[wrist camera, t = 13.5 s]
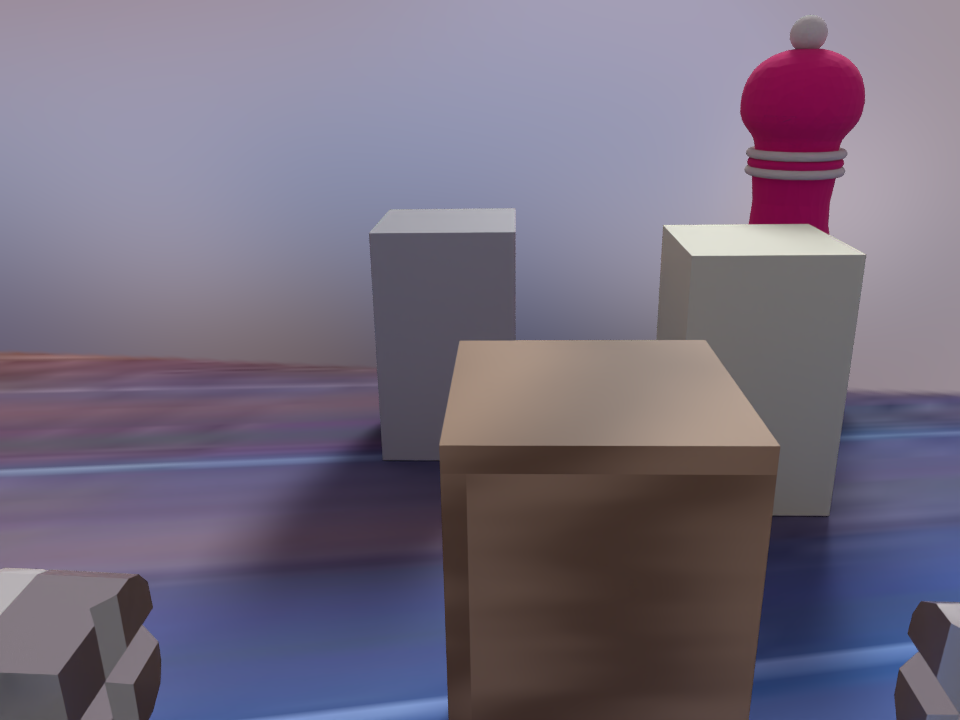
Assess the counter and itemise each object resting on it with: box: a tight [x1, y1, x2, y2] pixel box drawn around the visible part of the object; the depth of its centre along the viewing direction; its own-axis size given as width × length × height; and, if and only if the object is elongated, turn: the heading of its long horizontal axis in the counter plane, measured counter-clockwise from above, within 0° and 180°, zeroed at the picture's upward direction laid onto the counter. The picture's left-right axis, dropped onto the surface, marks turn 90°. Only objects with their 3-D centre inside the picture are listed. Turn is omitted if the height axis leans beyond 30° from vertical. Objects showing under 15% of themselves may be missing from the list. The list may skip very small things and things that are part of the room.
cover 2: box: [656, 224, 866, 516], centre depth 36 cm, size 6×6×11 cm
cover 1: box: [369, 208, 515, 460], centre depth 41 cm, size 6×6×11 cm
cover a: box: [439, 340, 780, 720], centre depth 20 cm, size 6×6×11 cm
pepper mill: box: [740, 15, 865, 235], centre depth 45 cm, size 7×7×20 cm
